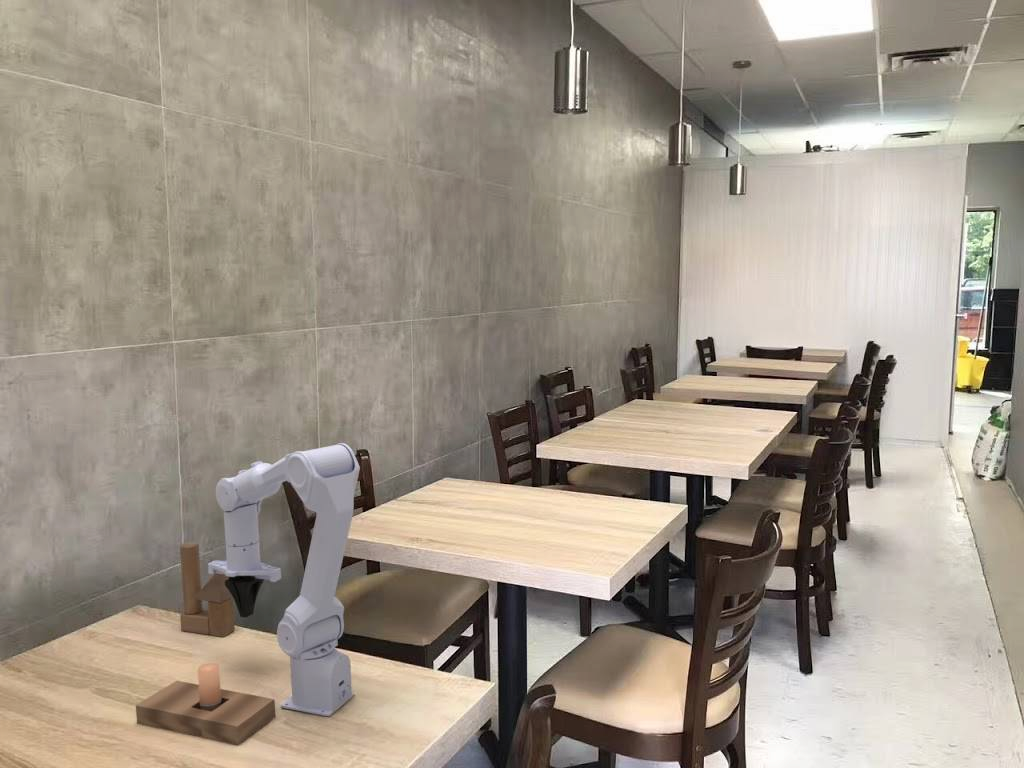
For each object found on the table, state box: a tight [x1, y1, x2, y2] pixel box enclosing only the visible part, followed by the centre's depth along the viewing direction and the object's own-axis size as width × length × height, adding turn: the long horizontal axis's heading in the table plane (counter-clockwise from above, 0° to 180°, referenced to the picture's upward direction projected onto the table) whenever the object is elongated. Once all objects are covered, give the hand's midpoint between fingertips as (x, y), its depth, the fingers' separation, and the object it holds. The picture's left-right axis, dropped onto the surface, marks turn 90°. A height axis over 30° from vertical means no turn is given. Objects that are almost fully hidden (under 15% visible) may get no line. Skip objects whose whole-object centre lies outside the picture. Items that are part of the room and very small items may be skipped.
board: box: [135, 680, 276, 746], centre depth 134 cm, size 20×9×3 cm, turn 69°
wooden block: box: [179, 541, 235, 638], centre depth 169 cm, size 4×11×18 cm, turn 70°
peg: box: [197, 662, 221, 711], centre depth 134 cm, size 3×3×9 cm
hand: (246, 615), depth 151 cm, fingers closed
